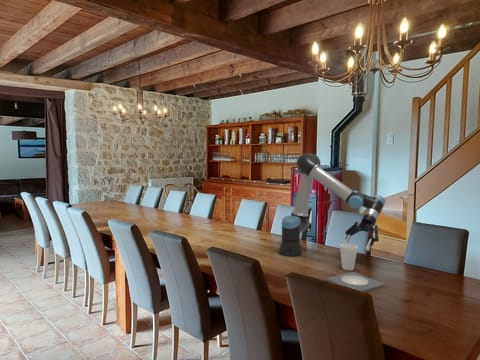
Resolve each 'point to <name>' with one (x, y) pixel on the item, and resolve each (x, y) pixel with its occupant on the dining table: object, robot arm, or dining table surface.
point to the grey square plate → (355, 281)
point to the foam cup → (348, 256)
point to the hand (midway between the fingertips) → (355, 247)
